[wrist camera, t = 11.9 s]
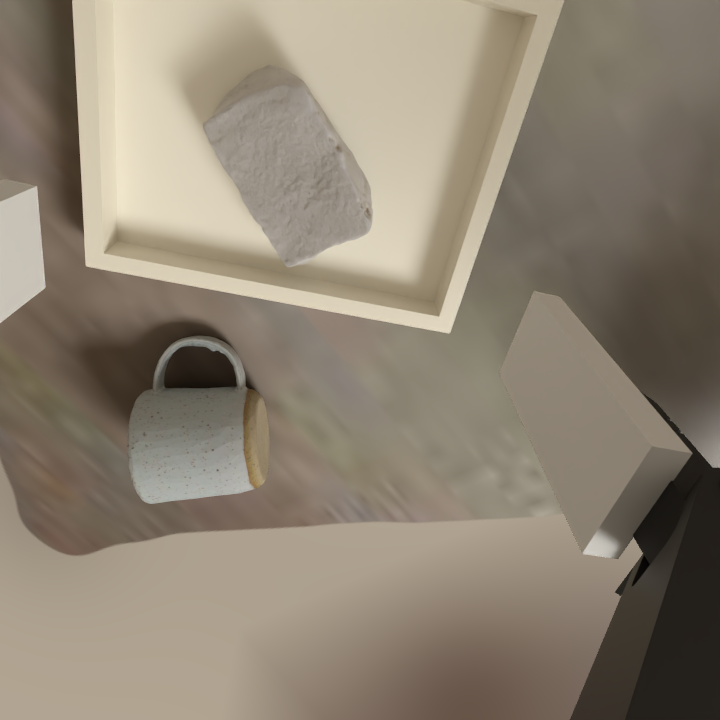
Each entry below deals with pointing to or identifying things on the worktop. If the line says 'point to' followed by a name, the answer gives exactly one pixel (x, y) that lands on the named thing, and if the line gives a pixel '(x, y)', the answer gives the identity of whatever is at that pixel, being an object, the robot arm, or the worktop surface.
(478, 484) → the worktop surface
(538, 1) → the tray
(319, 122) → the grey rough-textured block
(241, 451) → the ceramic mug
